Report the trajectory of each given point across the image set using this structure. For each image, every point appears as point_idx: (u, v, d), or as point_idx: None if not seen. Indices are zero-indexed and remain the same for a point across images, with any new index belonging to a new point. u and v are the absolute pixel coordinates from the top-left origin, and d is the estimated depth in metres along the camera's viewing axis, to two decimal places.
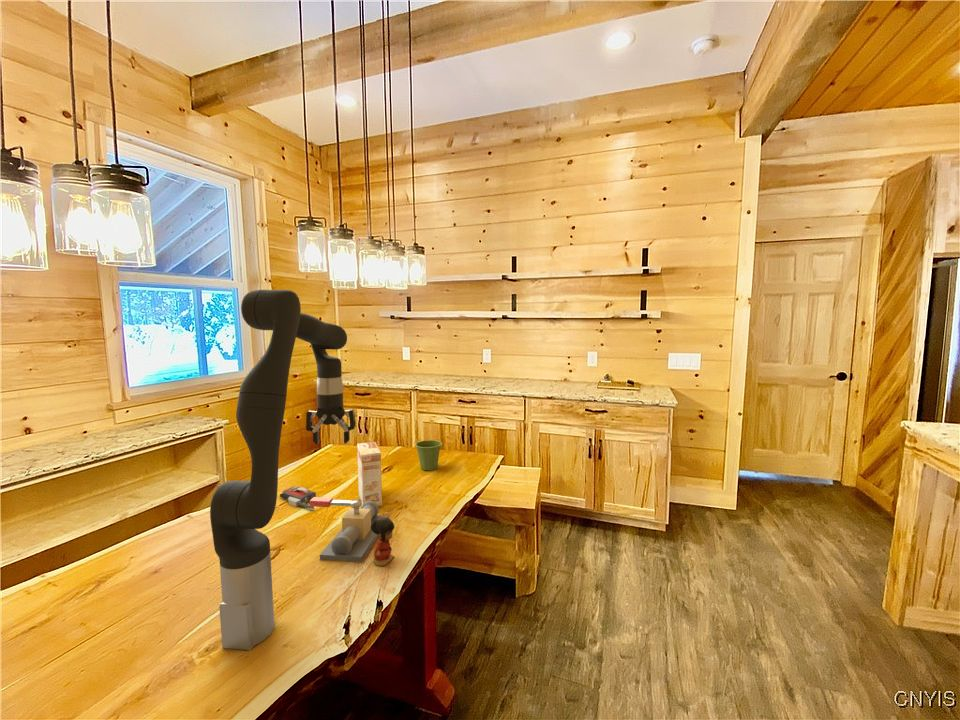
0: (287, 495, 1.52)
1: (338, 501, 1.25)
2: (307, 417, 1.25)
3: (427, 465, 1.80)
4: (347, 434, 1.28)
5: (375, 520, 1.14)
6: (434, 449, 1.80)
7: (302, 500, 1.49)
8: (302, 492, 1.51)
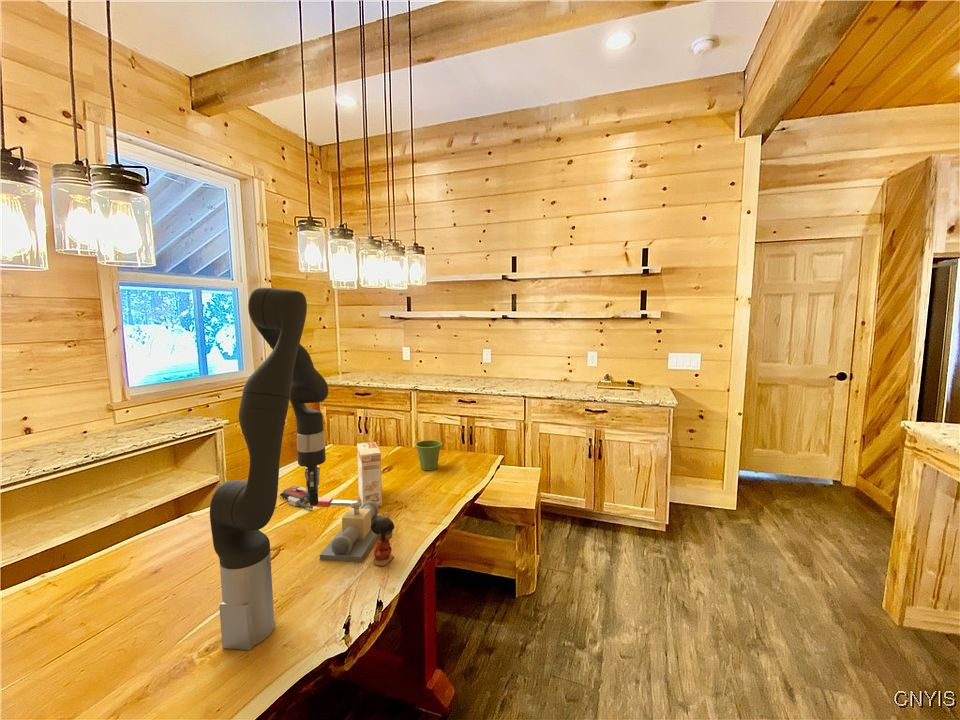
0: (287, 495, 1.53)
1: (338, 501, 1.25)
2: (316, 485, 1.16)
3: (427, 465, 1.80)
4: None
5: (375, 520, 1.14)
6: (434, 449, 1.80)
7: (301, 500, 1.49)
8: (302, 492, 1.51)
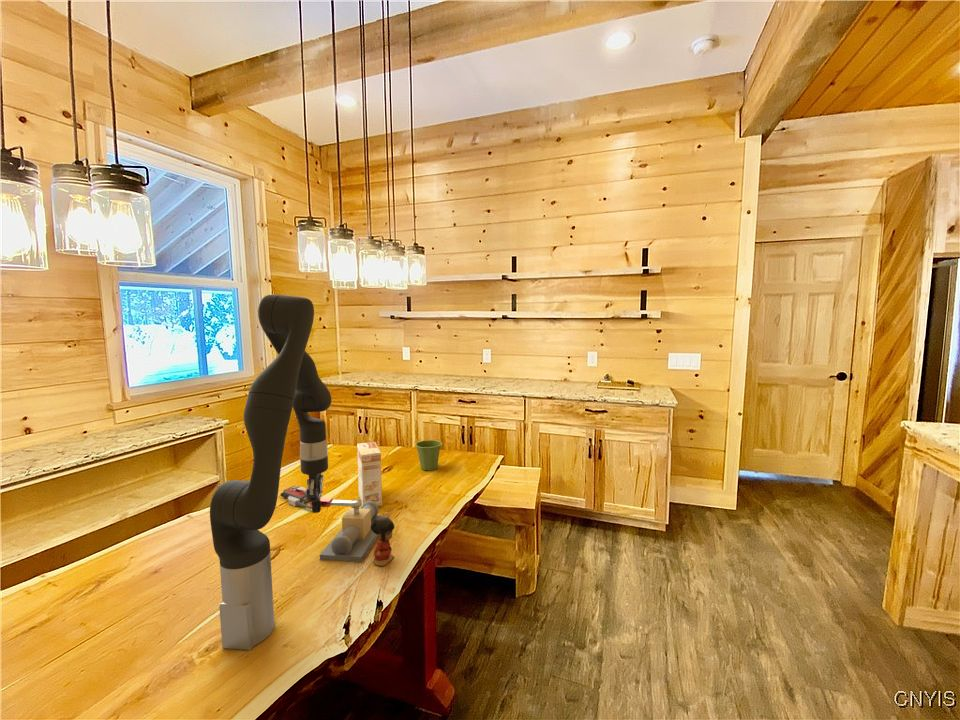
0: (287, 494, 1.53)
1: (338, 501, 1.25)
2: (316, 493, 1.18)
3: (427, 465, 1.80)
4: (319, 500, 1.24)
5: (375, 520, 1.14)
6: (434, 449, 1.80)
7: (301, 500, 1.49)
8: (301, 492, 1.52)
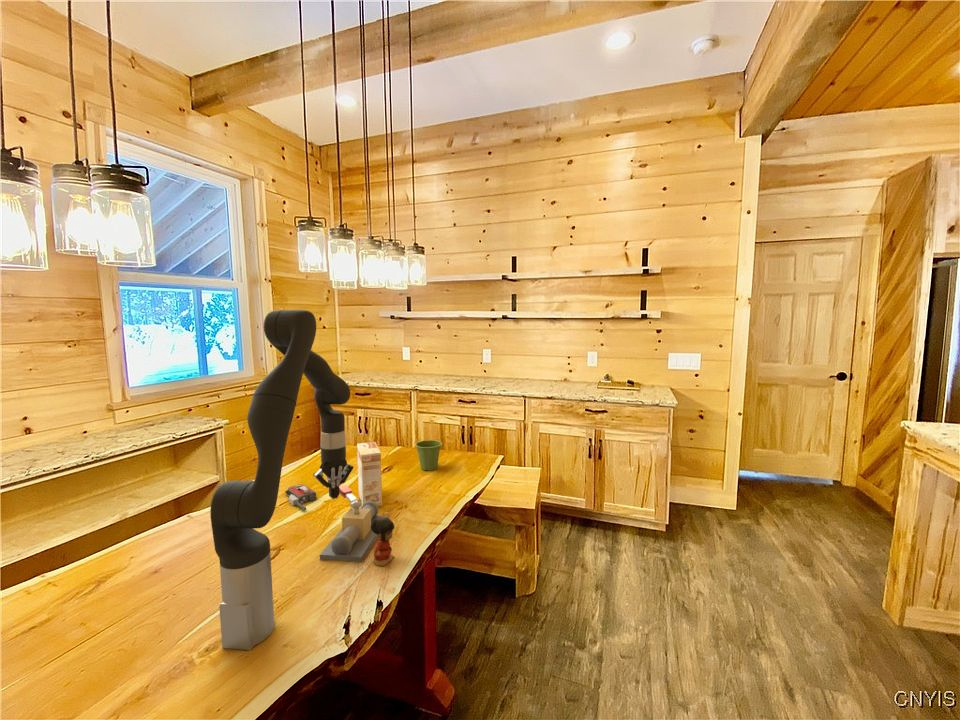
0: (290, 492, 1.55)
1: (349, 495, 1.30)
2: (320, 479, 1.27)
3: (427, 465, 1.80)
4: (338, 488, 1.32)
5: (375, 520, 1.14)
6: (434, 449, 1.80)
7: (300, 499, 1.50)
8: (302, 491, 1.52)
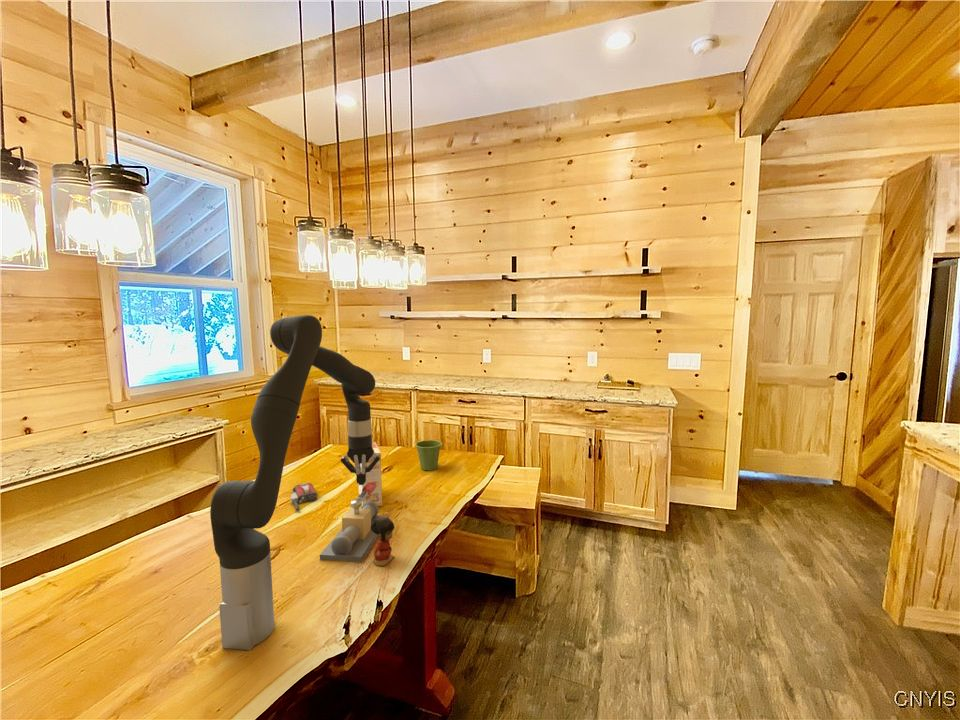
0: (295, 490, 1.57)
1: (362, 494, 1.31)
2: (344, 463, 1.34)
3: (427, 465, 1.80)
4: (364, 476, 1.36)
5: (375, 520, 1.14)
6: (434, 449, 1.80)
7: (299, 498, 1.50)
8: (303, 490, 1.53)
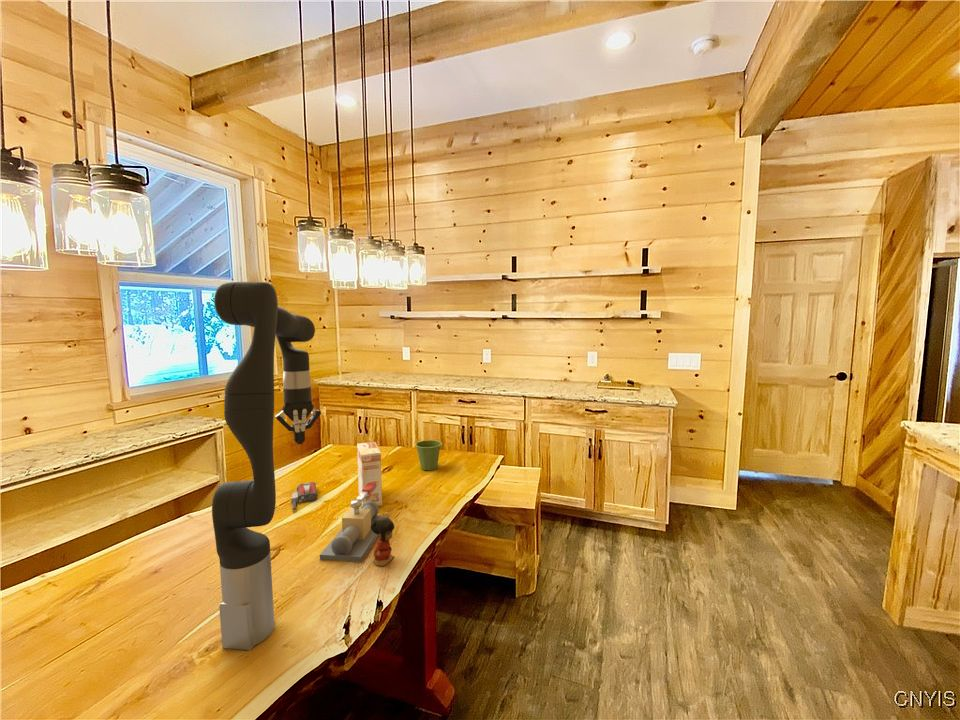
0: (297, 489, 1.57)
1: (362, 494, 1.31)
2: (281, 421, 1.19)
3: (427, 465, 1.80)
4: (303, 434, 1.23)
5: (375, 520, 1.14)
6: (434, 449, 1.80)
7: (298, 498, 1.51)
8: (303, 490, 1.53)
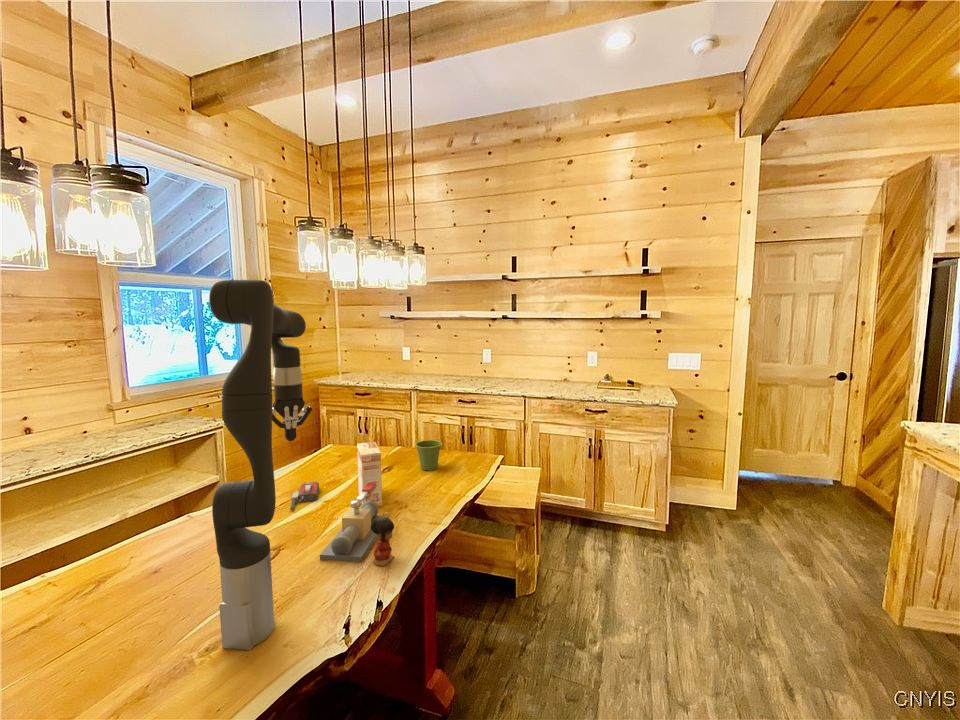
0: (300, 488, 1.58)
1: (362, 494, 1.31)
2: (271, 418, 1.17)
3: (427, 465, 1.80)
4: (294, 430, 1.22)
5: (375, 520, 1.14)
6: (434, 449, 1.80)
7: (298, 498, 1.51)
8: None
